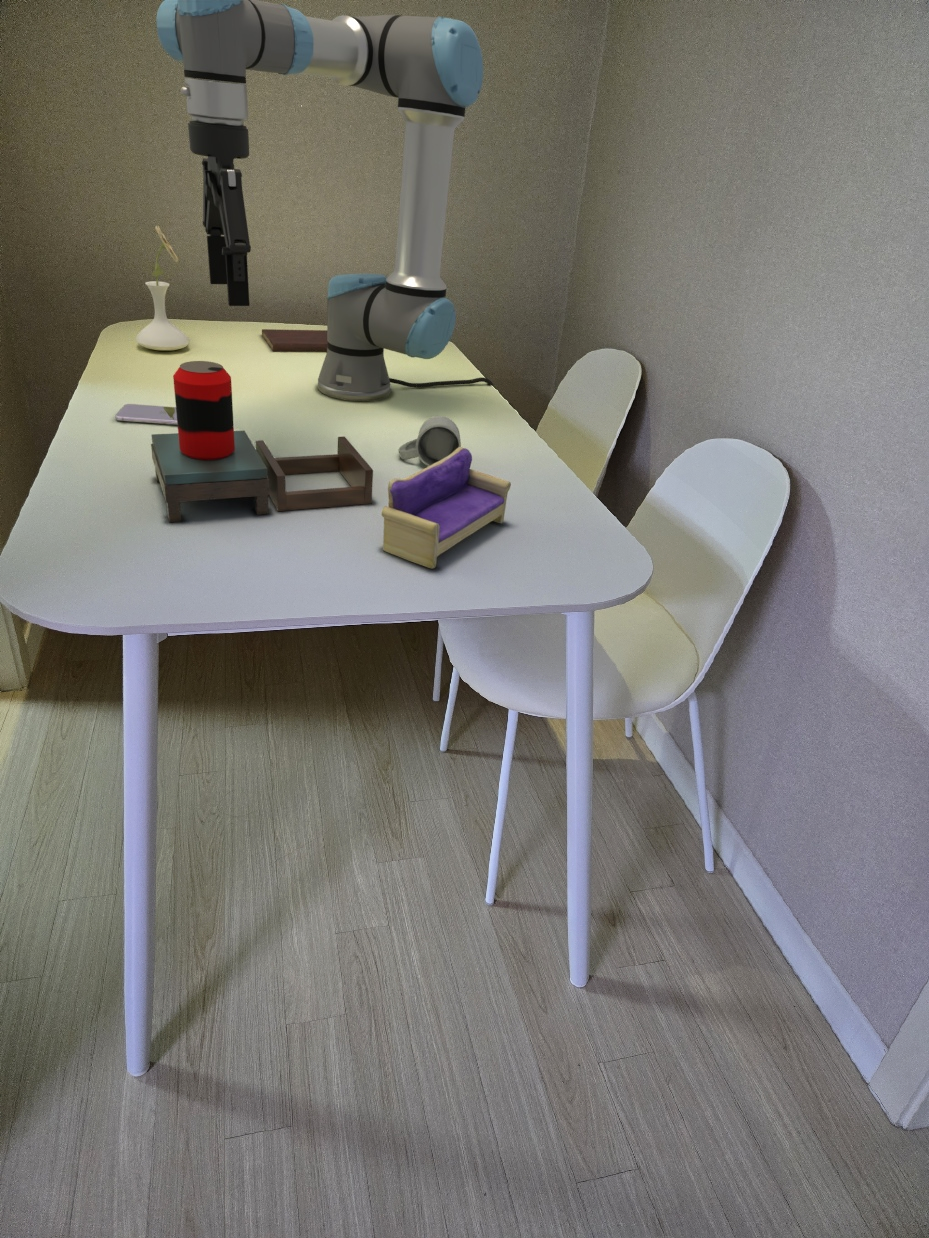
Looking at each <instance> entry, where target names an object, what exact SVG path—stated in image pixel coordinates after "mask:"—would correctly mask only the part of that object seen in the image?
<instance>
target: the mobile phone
mask: <svg viewBox="0 0 929 1238" xmlns="http://www.w3.org/2000/svg"><path fill="white" fill-rule="evenodd" d="M115 419H116V421H119V422H133V423H148V424H161V425H174V426H178V424H177V413H176V406H164V405H152V404H151V405H150V404H138V403H137V404H136V403H126V404H124V405H123V406H122V407H120V409H119V411H117V413H116V414H115Z"/></svg>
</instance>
